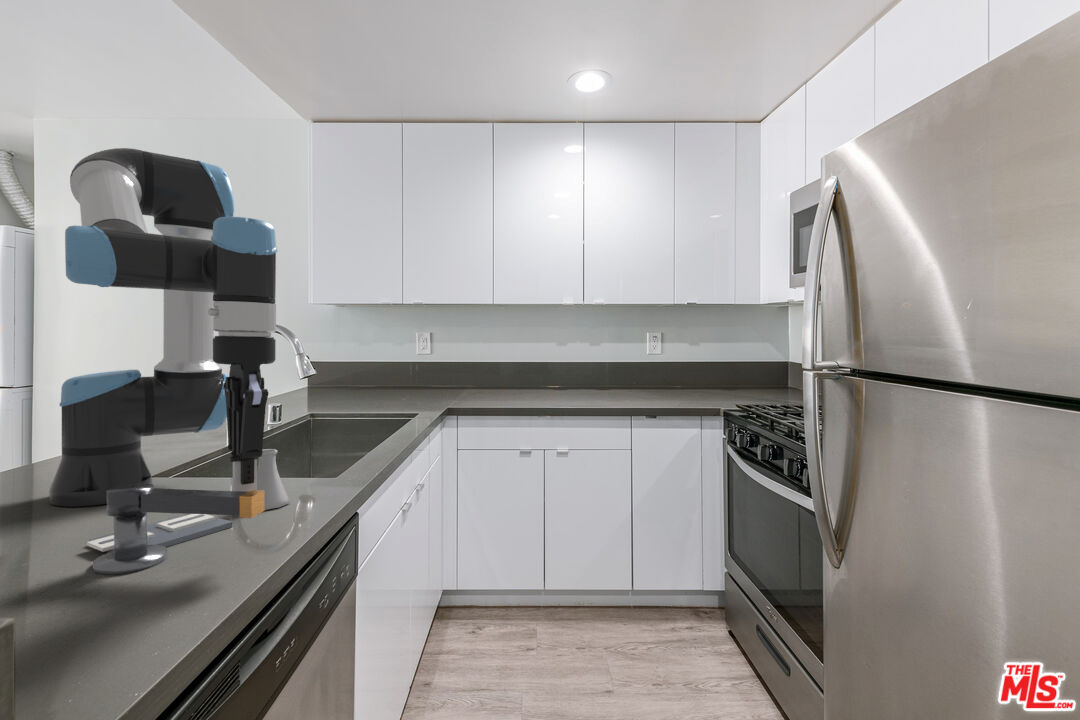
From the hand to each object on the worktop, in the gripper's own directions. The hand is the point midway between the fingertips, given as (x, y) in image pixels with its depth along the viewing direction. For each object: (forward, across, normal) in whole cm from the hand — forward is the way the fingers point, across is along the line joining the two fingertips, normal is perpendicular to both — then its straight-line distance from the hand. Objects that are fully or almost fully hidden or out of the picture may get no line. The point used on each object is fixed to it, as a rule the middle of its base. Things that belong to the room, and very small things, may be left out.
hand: (244, 505), depth 75 cm
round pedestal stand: (+7, -8, -12) cm, 16 cm away
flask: (+8, -23, +9) cm, 26 cm away
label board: (+8, -16, -7) cm, 19 cm away
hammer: (0, -3, -7) cm, 7 cm away
